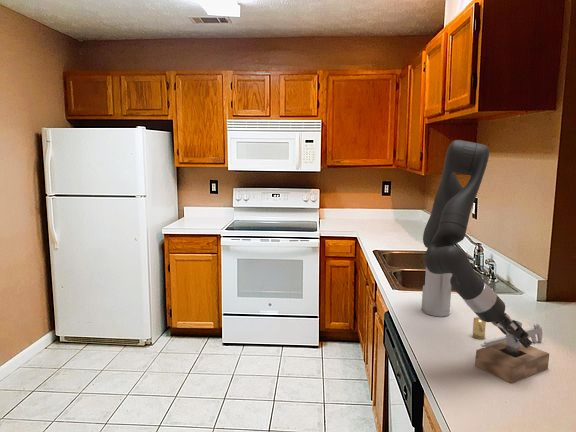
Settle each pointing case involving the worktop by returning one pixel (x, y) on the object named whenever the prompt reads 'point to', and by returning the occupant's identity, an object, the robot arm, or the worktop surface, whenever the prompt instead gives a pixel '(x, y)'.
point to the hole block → (511, 361)
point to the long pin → (512, 344)
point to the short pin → (478, 328)
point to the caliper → (530, 331)
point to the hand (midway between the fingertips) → (517, 338)
